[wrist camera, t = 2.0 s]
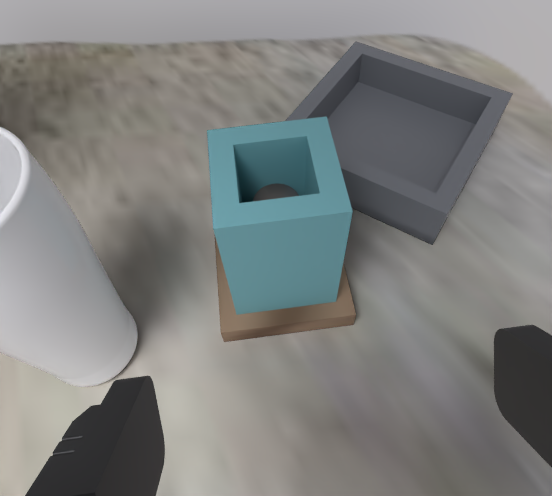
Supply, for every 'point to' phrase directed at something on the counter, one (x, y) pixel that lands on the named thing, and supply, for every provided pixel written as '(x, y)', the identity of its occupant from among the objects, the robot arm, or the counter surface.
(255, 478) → the counter surface
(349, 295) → the square wooden base
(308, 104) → the charcoal tray
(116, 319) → the drinking glass
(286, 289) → the teal sleeve
